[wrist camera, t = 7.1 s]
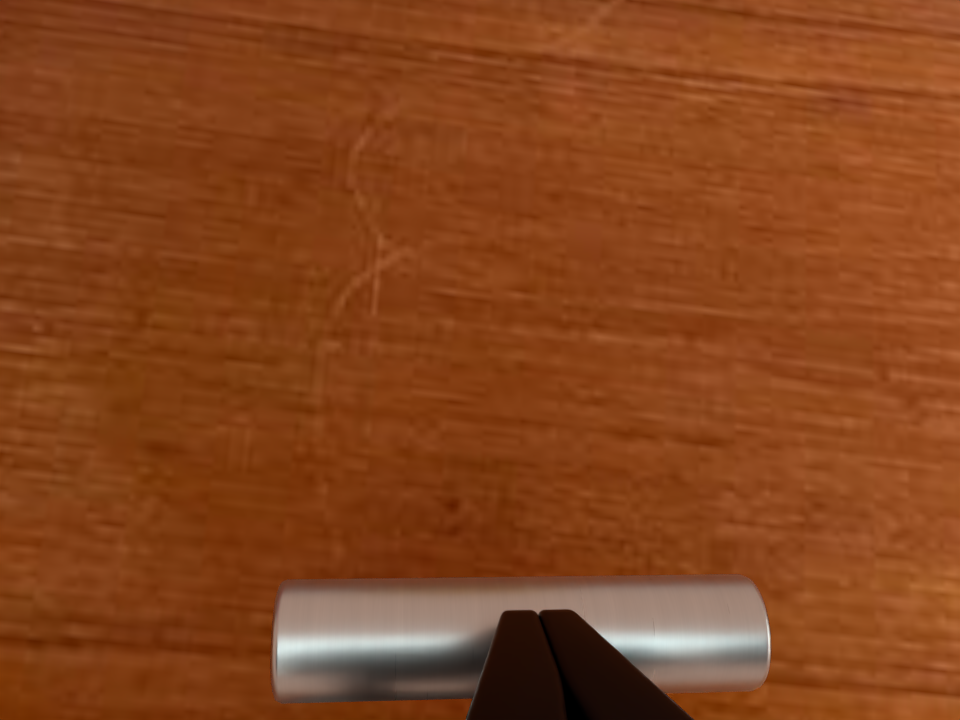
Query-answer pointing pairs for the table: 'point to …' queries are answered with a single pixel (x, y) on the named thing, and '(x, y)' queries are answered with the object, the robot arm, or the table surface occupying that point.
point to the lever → (474, 618)
